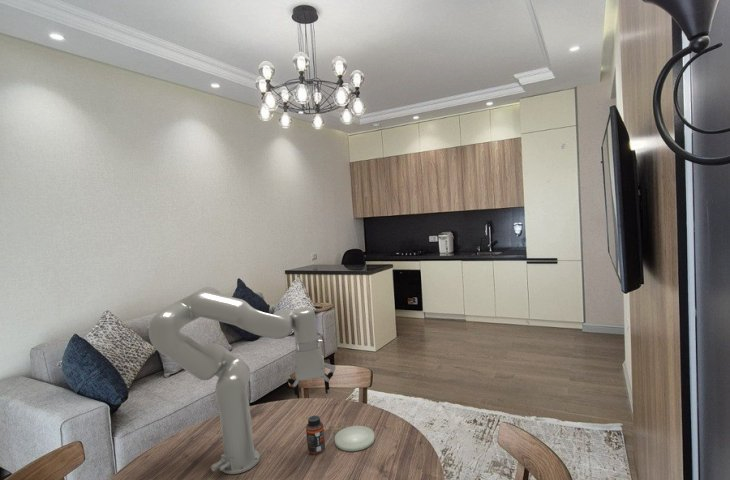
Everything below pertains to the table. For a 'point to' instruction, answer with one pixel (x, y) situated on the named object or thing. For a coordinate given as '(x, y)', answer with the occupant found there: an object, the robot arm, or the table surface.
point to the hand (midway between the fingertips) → (312, 394)
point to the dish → (354, 438)
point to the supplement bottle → (315, 435)
